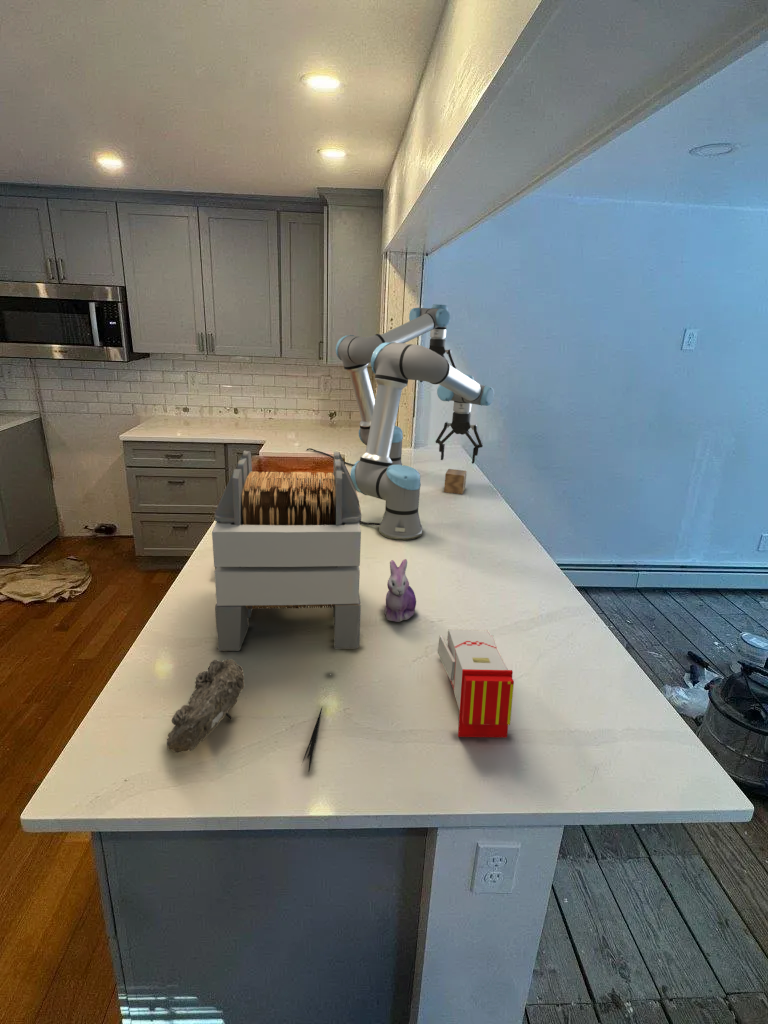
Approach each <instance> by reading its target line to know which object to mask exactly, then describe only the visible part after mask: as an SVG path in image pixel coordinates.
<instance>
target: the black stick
mask: <svg viewBox="0 0 768 1024" xmlns="http://www.w3.org/2000/svg"><path fill="white" fill-rule="evenodd" d="M329 675H330V676H331V675H332V674H331V673H330V674H329ZM322 710H323V707H321V708H320V710H319V713H318V716H317V719H316V723H315V725H314V728H313V731H312V733H311V737H310V739H309V742H308V745H307V748H306V751H305V754H304V757H303V760H302V763H301V767H302V765H303V763H304V761H305V758H308V759H309V760H308V762H307V763H308V764H307V766H308V771H310V770H311V766H312V765H311V764H312V760H313V757H315V756H314V755H315V751H316V749H315V746H317V739H318V733H319V729H320V722H321V717H322V712H323V711H322ZM313 754H314V755H313ZM306 755H307V757H306Z"/></svg>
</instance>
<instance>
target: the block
mask: <svg viewBox="0 0 768 1024" xmlns="http://www.w3.org/2000/svg"><path fill="white" fill-rule="evenodd" d="M467 472H468V471H467V470H463V469H454V468H448V469H447V471H446V472H445V475H444V486H443V487H444V488H443V493H448V494H456V495H457V494H458V495H463V494H464V493H465V492H464V491H465V490H466V483H467Z"/></svg>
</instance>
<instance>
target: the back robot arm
mask: <svg viewBox="0 0 768 1024" xmlns="http://www.w3.org/2000/svg"><path fill="white" fill-rule="evenodd" d="M408 315H409V316H408V319H409V321H407V322H405V323H403V324H401V325H398V326H397V327H394V328H392V329H389V330H388V331H386V332H384V333H382V334H380V333H376V334H374V335H371V336H358V335H354V334H348V335H344V336H341V337H340V338H339V339H338V341H337V342H336V345H335V355H336V356H337V358H338V359H339V360H340V361H341V362H342V365H343V369H344V370H345V371H346V372H347V373H348V375H349V378H350V379H349V380H350V382H351V383H350V384H351V386H352V390H353V393H354V397H355V401H356V405H357V409H358V412H359V416H360V419H361V420H360V421H359V429H358V438H359V440H360V441H361V443H362V444H364V445H365V446H366V447H367V442H368V437H369V431H370V426H371V420H372V415H373V410H374V404H375V399H376V397H375V394H374V391H373V387H372V383H371V382H372V381H371V379H370V374H369V370H368V366H369V364H371V357H372V354H373V352H374V350H375V349H376V348H377V347H378V346H379V345H380V344H382V343H390V342H396V343H404V344H407V343H408V342H410V341H412V340H415V339H416V338H419V337H420V336H423V335H424V334H426V333H428V332H430V335H429V337H430V338H429V346H428V349H430V350H432V351H434V352H436V353H437V354H439V355H441V356H442V357H444V358H445V359H447V358H446V356H445V354H447V356H448V358H449V361H450V365H451V366H452V367H454V368H455V369H457V368H458V367H457V365H456V362H455V360H454V357H453V354H452V349H450V348H449V349H446V339H445V338H446V337H447V326H448V325H449V324H450V322H451V313H450V312H449V310H448V305H447V304H437V303H435V304H432V306H431V308H430V307H413V308H411V309H410V311H409V314H408ZM423 382H424V381H419V383H423ZM403 435H404V433H403V430H402V428H401V427H399V426H397V425H395V429H394V434H393V439H392V444H391V450H390V455H389V457H390V459H391V461H392V465H403V462H402V451H403V440H404V436H403ZM305 451H307V452H308V451H313V452H315V453H319V454H323V455H326V456H328V457H330V458H332V459H334V455H331V454H330V453H326V452H323V451H320V450H317V449H314V448H311V447H309V448H307V449H306V450H305ZM344 463H345V465H349V466H351V467H353V466H354V464H355V463H349V462H347V461H344Z"/></svg>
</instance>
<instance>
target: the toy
mask: <svg viewBox="0 0 768 1024" xmlns="http://www.w3.org/2000/svg"><path fill="white" fill-rule="evenodd" d="M446 640H447V643H446V641H445V639H444V636H443V635H442V634H439V637H438V646H437V656H438V657H439V659H440V661H441V663H442V666H443V668H444V670H445V672H446V674H447V677H448V679H449V681H450V684H451V687H452V690H453V693H454V697H455V701H456V705H457V708H458V711H459V714H458V715H459V716H458V730H457V731H458V732H457V737H458V738H508V731H509V726H510V725H511V717H512V707H513V697H514V696H513V695H514V684H515V680H514V679H513V673H514V671H513V670H512V669H508V667H507V665H506V662H505V661H504V659H503V658H502V655H501V653H500V651H499V649H498V647H497V643H496V639H495V637H494V635H493V634H491V632H490V631H489V629H467V628H466V629H465V628H463V629H461V628H460V629H459V628H448V630H447V639H446Z"/></svg>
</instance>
